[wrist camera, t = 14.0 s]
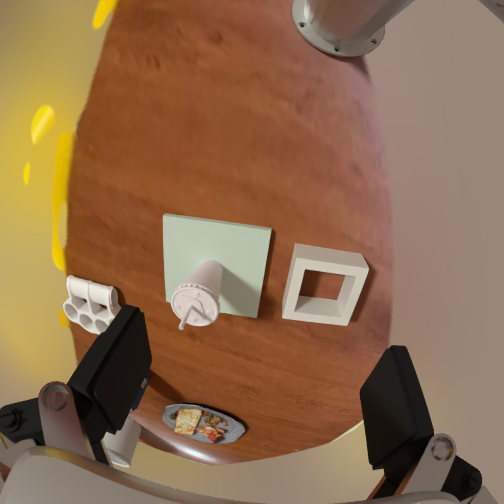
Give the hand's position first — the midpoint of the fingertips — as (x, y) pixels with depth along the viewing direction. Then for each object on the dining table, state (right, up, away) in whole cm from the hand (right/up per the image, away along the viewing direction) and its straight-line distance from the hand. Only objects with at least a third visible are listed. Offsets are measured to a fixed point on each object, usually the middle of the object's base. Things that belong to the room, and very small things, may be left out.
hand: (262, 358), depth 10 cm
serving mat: (-6, +2, +34) cm, 34 cm away
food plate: (-15, -46, +59) cm, 76 cm away
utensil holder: (-47, -58, +69) cm, 101 cm away
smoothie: (-7, +1, +33) cm, 34 cm away
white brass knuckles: (-33, -7, +42) cm, 54 cm away
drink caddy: (+10, 0, +33) cm, 34 cm away
